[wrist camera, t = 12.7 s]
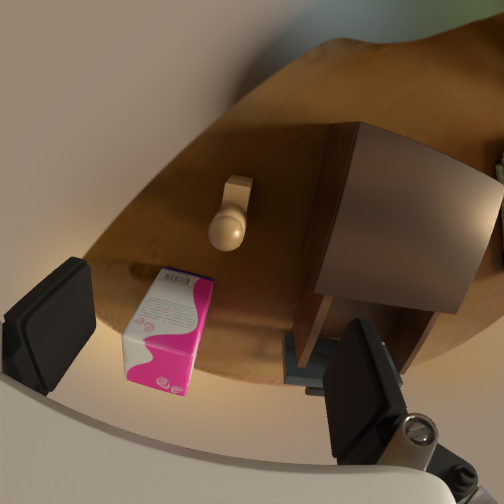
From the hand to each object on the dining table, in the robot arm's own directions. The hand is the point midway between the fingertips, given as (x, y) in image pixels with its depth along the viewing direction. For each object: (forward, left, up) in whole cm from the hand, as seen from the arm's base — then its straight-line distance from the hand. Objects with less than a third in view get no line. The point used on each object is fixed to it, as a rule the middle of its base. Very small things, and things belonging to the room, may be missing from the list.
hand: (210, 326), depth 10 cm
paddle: (+1, -1, -19) cm, 19 cm away
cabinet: (-2, +13, -19) cm, 23 cm away
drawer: (+11, +13, -18) cm, 25 cm away
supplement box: (+12, -5, -19) cm, 23 cm away
